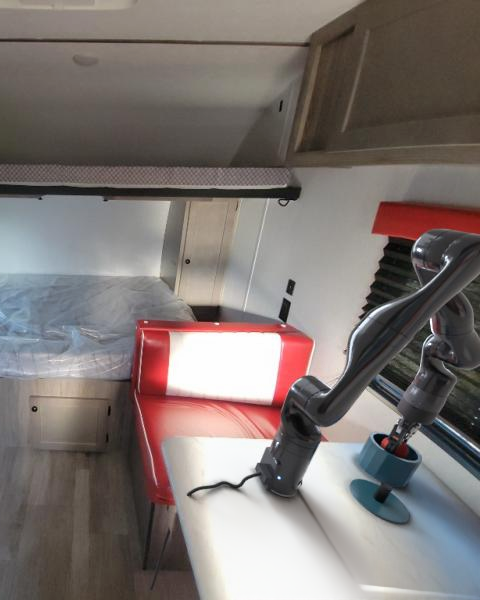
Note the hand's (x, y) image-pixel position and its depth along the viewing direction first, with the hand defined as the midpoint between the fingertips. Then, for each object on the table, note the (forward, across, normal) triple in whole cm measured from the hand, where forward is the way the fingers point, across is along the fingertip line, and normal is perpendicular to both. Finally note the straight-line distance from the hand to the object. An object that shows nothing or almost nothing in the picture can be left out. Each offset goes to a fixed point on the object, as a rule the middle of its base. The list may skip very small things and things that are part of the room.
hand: (393, 448), depth 97 cm
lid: (+9, +14, +4) cm, 17 cm away
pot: (+9, 0, 0) cm, 9 cm away
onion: (+4, 0, 0) cm, 4 cm away
